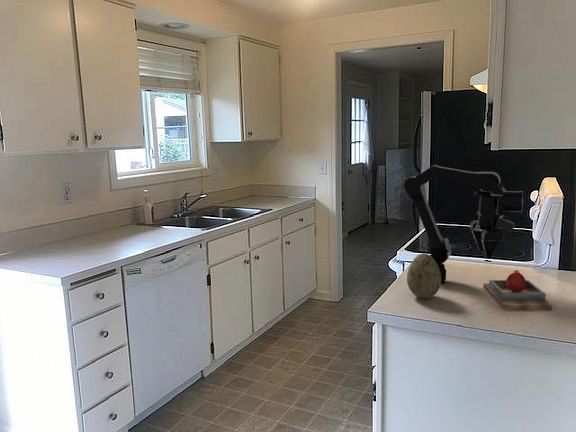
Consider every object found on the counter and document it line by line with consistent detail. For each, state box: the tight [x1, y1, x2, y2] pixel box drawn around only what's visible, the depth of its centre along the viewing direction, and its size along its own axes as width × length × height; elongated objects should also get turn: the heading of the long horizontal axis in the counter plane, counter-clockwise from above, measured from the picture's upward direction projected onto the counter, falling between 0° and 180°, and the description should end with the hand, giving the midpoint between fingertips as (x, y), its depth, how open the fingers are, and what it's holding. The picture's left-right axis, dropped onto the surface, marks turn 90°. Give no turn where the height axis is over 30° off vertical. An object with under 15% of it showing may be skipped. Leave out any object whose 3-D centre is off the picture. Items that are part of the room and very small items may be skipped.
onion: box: [505, 270, 527, 292], centre depth 150 cm, size 6×6×8 cm
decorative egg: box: [406, 252, 442, 299], centre depth 153 cm, size 11×11×15 cm
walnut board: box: [482, 283, 553, 311], centre depth 151 cm, size 14×20×2 cm
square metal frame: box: [488, 279, 546, 301], centre depth 151 cm, size 13×13×2 cm
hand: (484, 254), depth 160 cm, fingers open, 9 cm apart
